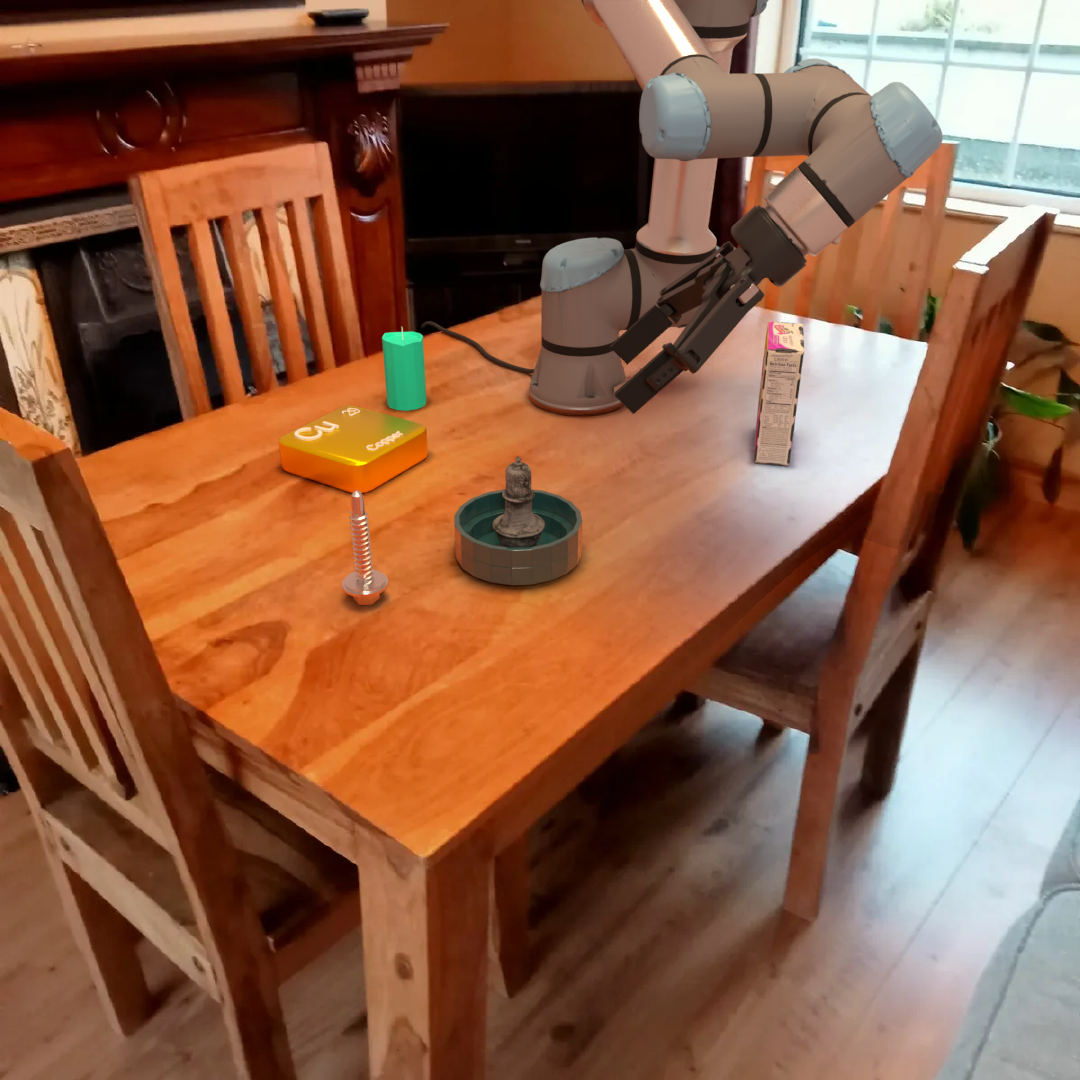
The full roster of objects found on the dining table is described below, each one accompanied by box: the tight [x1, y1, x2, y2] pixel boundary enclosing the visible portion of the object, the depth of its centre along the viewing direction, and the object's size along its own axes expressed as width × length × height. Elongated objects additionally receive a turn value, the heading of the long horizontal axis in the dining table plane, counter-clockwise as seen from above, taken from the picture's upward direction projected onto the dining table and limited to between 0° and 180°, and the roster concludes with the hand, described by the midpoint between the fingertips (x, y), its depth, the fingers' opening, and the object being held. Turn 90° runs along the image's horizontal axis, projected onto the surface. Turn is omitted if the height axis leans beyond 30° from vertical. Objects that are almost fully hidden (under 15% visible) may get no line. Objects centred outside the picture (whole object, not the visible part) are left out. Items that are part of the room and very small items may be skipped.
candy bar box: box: [754, 321, 805, 467], centre depth 136 cm, size 11×5×16 cm, turn 168°
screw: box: [341, 490, 389, 606], centre depth 104 cm, size 13×5×5 cm
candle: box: [381, 326, 428, 412], centre depth 151 cm, size 6×6×12 cm
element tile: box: [278, 404, 429, 494], centre depth 135 cm, size 15×15×5 cm
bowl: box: [453, 488, 583, 586], centre depth 114 cm, size 14×14×5 cm
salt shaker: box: [493, 455, 545, 548], centre depth 112 cm, size 6×6×12 cm
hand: (620, 378), depth 104 cm, fingers open, 13 cm apart
